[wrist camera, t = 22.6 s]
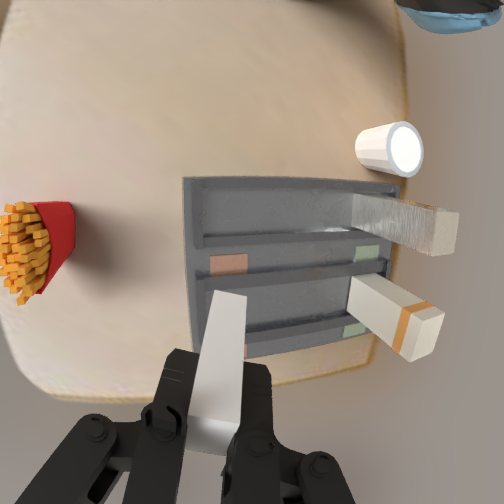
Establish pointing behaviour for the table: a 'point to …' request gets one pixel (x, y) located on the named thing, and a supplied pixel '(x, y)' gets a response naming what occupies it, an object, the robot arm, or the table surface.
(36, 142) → the table surface
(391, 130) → the white short cylinder
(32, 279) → the french fries
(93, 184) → the table surface
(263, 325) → the breaker panel
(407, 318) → the handle
